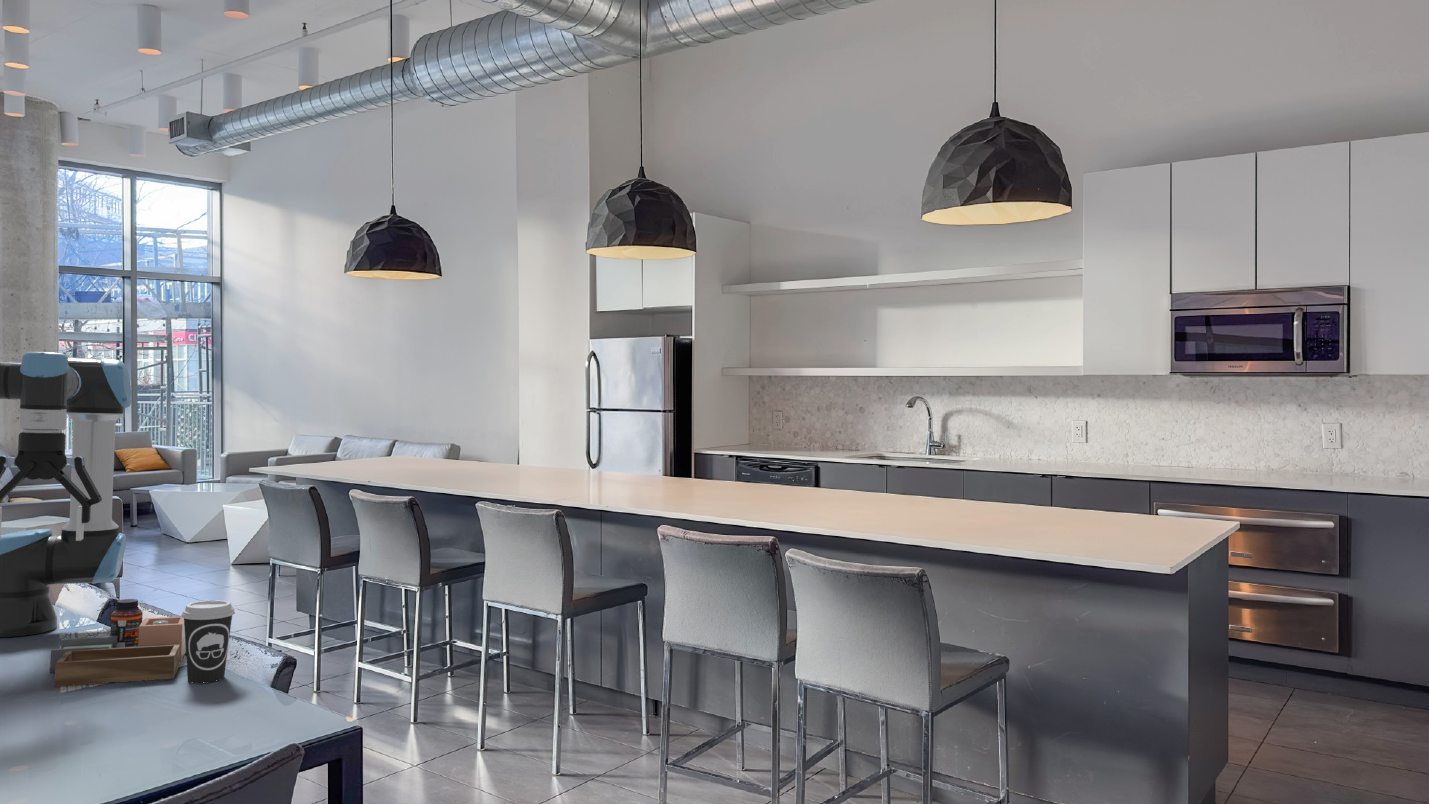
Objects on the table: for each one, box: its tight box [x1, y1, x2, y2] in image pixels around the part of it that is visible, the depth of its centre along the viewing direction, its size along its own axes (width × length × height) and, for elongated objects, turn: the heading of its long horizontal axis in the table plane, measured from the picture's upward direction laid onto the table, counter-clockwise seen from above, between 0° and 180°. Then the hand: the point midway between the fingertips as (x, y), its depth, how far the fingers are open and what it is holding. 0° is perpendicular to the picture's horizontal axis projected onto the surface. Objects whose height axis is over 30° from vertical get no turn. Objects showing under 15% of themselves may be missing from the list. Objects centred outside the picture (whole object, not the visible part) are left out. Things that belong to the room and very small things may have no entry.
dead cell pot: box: [138, 616, 186, 663], centre depth 207 cm, size 8×8×8 cm
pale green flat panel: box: [63, 644, 112, 649], centre depth 200 cm, size 7×9×1 cm
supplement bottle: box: [109, 598, 143, 648], centre depth 211 cm, size 6×6×11 cm
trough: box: [54, 644, 181, 688], centre depth 193 cm, size 10×20×4 cm, turn 113°
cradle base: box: [49, 635, 118, 674], centre depth 200 cm, size 10×10×4 cm
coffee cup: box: [180, 599, 236, 684], centre depth 193 cm, size 10×10×15 cm
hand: (38, 540), depth 187 cm, fingers open, 13 cm apart
